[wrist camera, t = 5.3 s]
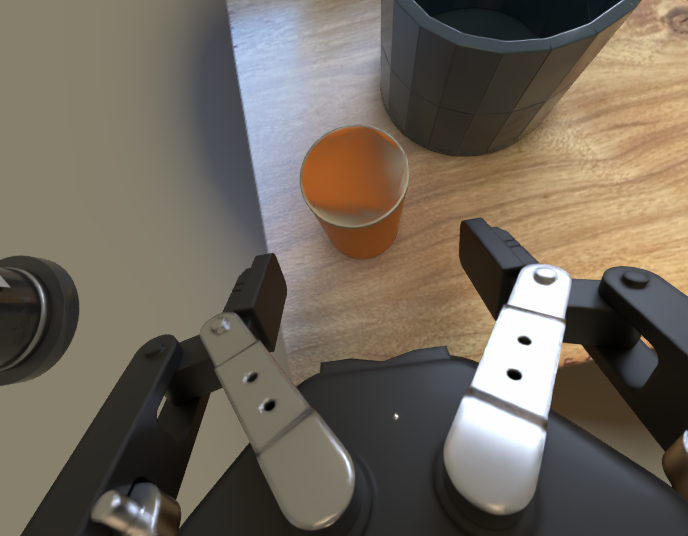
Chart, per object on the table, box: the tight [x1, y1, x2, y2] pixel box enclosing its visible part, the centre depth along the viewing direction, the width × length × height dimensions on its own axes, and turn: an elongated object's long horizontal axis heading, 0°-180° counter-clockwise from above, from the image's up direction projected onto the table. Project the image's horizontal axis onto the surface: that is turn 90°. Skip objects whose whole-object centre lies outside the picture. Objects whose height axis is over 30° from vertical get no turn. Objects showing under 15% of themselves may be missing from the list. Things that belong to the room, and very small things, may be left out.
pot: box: [380, 0, 641, 156], centre depth 19 cm, size 13×13×9 cm
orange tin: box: [300, 125, 410, 259], centre depth 19 cm, size 6×6×8 cm
